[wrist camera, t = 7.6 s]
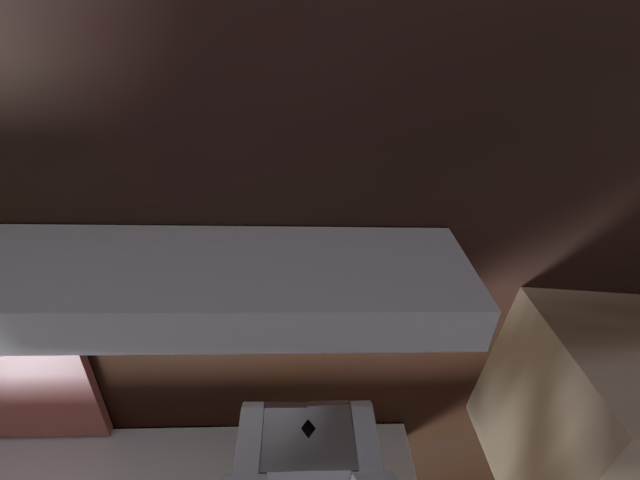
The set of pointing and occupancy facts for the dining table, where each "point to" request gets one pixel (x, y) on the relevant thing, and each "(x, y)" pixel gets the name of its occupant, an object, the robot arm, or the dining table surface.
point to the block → (562, 388)
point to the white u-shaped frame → (206, 327)
